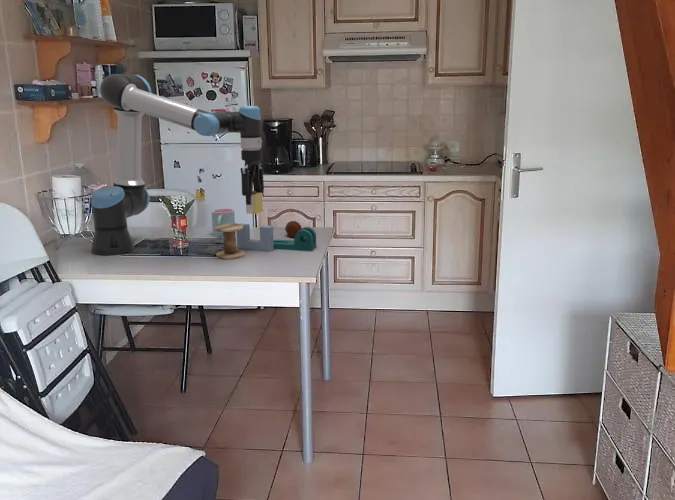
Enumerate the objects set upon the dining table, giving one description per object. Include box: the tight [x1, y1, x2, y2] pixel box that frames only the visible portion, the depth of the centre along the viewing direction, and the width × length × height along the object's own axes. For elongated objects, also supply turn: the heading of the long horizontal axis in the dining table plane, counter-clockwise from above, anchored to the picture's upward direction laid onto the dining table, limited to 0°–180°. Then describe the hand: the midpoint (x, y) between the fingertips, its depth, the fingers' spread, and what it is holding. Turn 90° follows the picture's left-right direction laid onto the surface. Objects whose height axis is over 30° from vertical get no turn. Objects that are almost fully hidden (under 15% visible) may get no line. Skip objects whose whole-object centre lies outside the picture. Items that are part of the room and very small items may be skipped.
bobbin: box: [215, 222, 245, 260], centre depth 228 cm, size 10×10×11 cm
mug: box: [211, 208, 236, 238], centre depth 259 cm, size 14×9×10 cm
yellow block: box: [248, 190, 264, 215], centre depth 234 cm, size 4×6×8 cm
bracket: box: [273, 226, 317, 252], centre depth 239 cm, size 18×7×8 cm, turn 77°
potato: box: [284, 220, 303, 238], centre depth 258 cm, size 7×9×6 cm
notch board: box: [236, 223, 275, 252], centre depth 238 cm, size 14×3×9 cm, turn 69°
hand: (254, 211), depth 235 cm, fingers closed on yellow block, 5 cm apart
